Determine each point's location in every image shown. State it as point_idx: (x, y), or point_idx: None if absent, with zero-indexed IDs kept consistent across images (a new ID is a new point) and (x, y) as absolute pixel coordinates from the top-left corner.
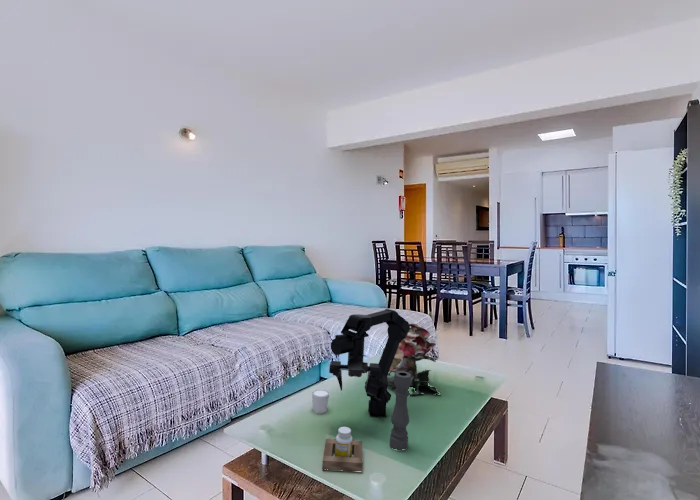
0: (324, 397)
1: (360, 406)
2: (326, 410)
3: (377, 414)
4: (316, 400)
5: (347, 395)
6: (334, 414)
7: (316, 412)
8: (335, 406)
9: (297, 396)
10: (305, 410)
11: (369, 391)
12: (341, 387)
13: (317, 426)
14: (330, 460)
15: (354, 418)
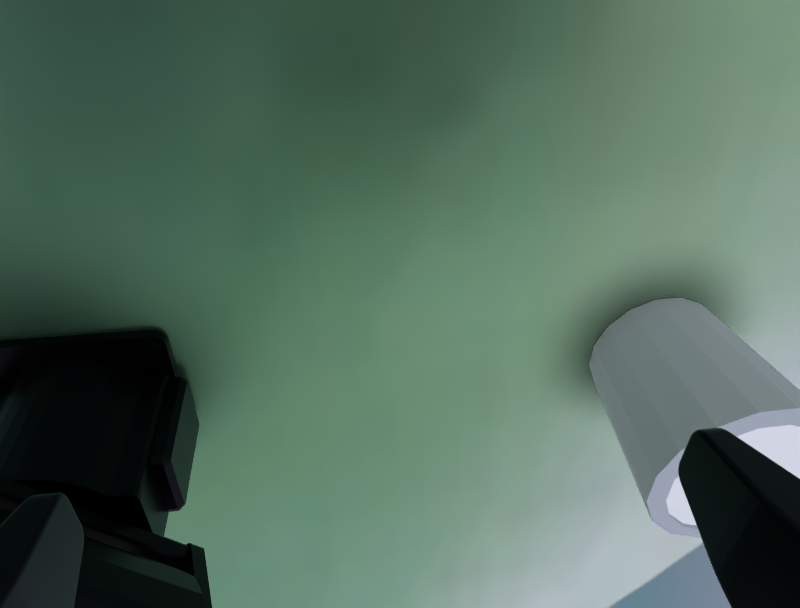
0: (718, 419)
1: (285, 464)
2: (601, 346)
3: (75, 358)
4: (780, 381)
5: (404, 565)
6: (527, 307)
7: (695, 304)
8: (507, 423)
9: None
10: (780, 322)
11: (123, 591)
12: (772, 486)
13: (743, 46)
14: None
15: (325, 273)
